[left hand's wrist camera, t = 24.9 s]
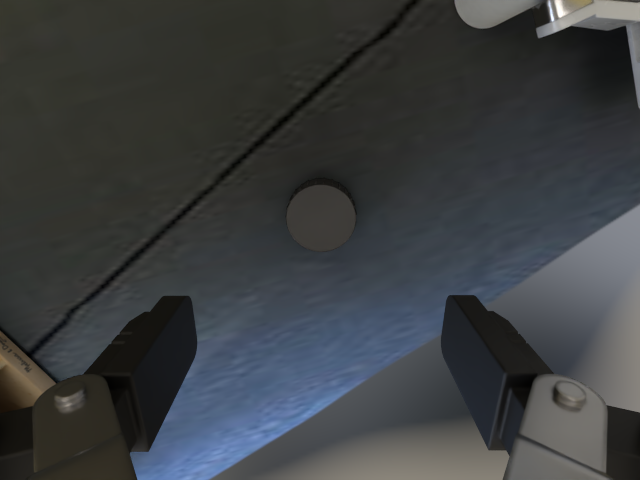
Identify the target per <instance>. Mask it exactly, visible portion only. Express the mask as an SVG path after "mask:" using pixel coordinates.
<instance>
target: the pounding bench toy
mask: <svg viewBox="0 0 640 480" xmlns="http://www.w3.org/2000/svg"><path fill="white" fill-rule="evenodd" d="M55 384H56V383H55V382H54V381H53V380H52V379H51V378H50V377H49V376H48V375H47V374H46V373H45V372H44V371H42V370H41V369H40V368H39V367H38V366H37V365H36V364H35V363H34V362H33V361H32V360H31V359H30V358H29V357H28V356H27V355H26V354H25V353H23V352H22V351H21V350H20V349H19V348H18V347H17V346H16V345H15V344H14V343H13V342H12V341H11V340H10V339H8V338H7V337H6V336H5V335H4V334H3V333H2V332H1V331H0V413H4V412H8V411H13V410H17V409H22V408H26V407H30V406H33V405H34V403H35V402H36V400H37V399H38V398H39V396H40V395H41V394H42V393H44V392H45V391H46V390H47V389H49V388H50V387H52V386H53V385H55Z"/></svg>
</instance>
